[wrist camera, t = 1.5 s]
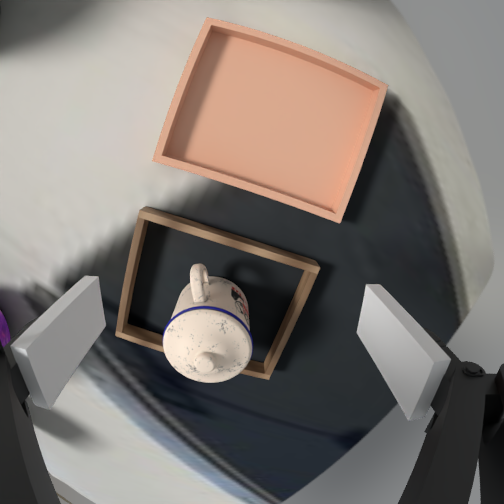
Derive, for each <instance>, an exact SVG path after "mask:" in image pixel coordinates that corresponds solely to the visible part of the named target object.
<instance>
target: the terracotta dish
mask: <svg viewBox="0 0 504 504" xmlns="http://www.w3.org/2000/svg"><path fill="white" fill-rule="evenodd" d="M387 88H388V85H387V84H385V83H383V82H381V81H379V80H377V79H375V78H373V77H371V76H369V75H367V74H365V73H363V72H361V71H359V70H357V69H355V68H353V67H351V66H349V65H347V64H345V63H342V62H340V61H338V60H336V59H333V58H331V57H329V56H326V55H324V54H322V53H319V52H317V51H314V50H312V49H309V48H307V47H304V46H302V45H299V44H296V43H293V42H291V41H288V40H285V39H282V38H279V37H276V36H273V35H270V34H267V33H264V32H261V31H257V30H254V29H251V28H247V27H244V26H240V25H236V24H233V23H229V22H225V21H221V20H216V19H212V18H208V17H207V18H206V20H205V22H204V24H203V26H202V29H201V31H200V33H199V35H198V38H197V40H196V42H195V44H194V47H193V49H192V51H191V54H190V56H189V58H188V61H187V63H186V66H185V68H184V71H183V73H182V76H181V78H180V81H179V84H178V86H177V89H176V91H175V94H174V97H173V100H172V102H171V105H170V108H169V111H168V114H167V116H166V119H165V122H164V125H163V128H162V131H161V134H160V137H159V140H158V144H157V147H156V150H155V153H154V157H153V160H152V161H154V162H157V163H161V164H164V165H168V166H171V167H174V168H178V169H181V170H185V171H188V172H191V173H194V174H198V175H201V176H204V177H207V178H210V179H214V180H217V181H220V182H223V183H226V184H229V185H232V186H235V187H238V188H241V189H244V190H247V191H250V192H253V193H256V194H259V195H262V196H265V197H268V198H271V199H274V200H277V201H280V202H283V203H285V204H288V205H291V206H294V207H297V208H299V209H302V210H305V211H308V212H310V213H313V214H316V215H319V216H321V217H324V218H327V219H329V220H332V221H335V222H337V223H340V222H341V220H342V217H343V214H344V212H345V209H346V207H347V204H348V202H349V199H350V196H351V194H352V191H353V188H354V186H355V183H356V180H357V178H358V175H359V172H360V169H361V166H362V164H363V161H364V158H365V155H366V152H367V150H368V147H369V144H370V141H371V138H372V135H373V132H374V129H375V126H376V123H377V120H378V117H379V114H380V111H381V107H382V104H383V101H384V98H385V95H386V91H387Z"/></svg>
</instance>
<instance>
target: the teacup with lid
mask: <svg viewBox="0 0 504 504" xmlns="http://www.w3.org/2000/svg"><path fill="white" fill-rule="evenodd" d="M162 340H163V348H164V352H165V355H166V357H167V359H168V361H169V362H170V364H171V365H172V366H173V367H174V368H175V369H176V370H177V371H178V372H180V373H181V374H182V375H184V376H186V377H188V378H190V379H193V380H196V381H200V382H209V383H212V382H221V381H225V380H228V379H230V378H232V377H234V376H236V375H237V374H239V373H240V372H241V371H242V370H243V369H244V368H245V367H246V366H247V364H248V362H249V361H250V359H251V356H252V353H253V339H252V336H251V333H250V327H249V312H248V303H247V300H246V297H245V295H244V293H243V292H242V291H241V289H240V288H239V287H238V286H237V285H235V284H234V283H232V282H231V281H229V280H227V279H224V278H221V277H214V276H208V273H207V270H206V267H205V266H204V265H203V264H195V265H193V266H192V268H191V271H190V283H189V284H188V285H187V286H186V287H185V288H184V289H183V291H182V292H181V294H180V296H179V299H178V302H177V304H176V307H175V310H174V312H173V315H172V318H171V320H170V321H169V322H168V324H167V325H166V327H165V330H164V333H163V339H162Z"/></svg>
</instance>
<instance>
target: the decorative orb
mask: <svg viewBox="0 0 504 504" xmlns="http://www.w3.org/2000/svg"><path fill="white" fill-rule="evenodd" d="M0 340H1V343H2V346H3V347H4V346H5V345H6V344H7V343H8V342H9V341H10V340H11V339H10V332H9V328H8V325H7V322H6V320H5V317H4V315H3V314H2V312H1V310H0Z"/></svg>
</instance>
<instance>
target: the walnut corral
mask: <svg viewBox="0 0 504 504" xmlns="http://www.w3.org/2000/svg"><path fill="white" fill-rule="evenodd" d="M149 221H152V222H155V223H158V224H161V225H164V226H167V227H171V228H174V229H177V230H180V231H183V232H186V233H189V234H193V235H196V236H199V237H202V238H205V239H208V240H212V241H215V242H218V243H221V244H224V245H227V246H231V247H234V248H237V249H240V250H243V251H246V252H249V253H253V254H256V255H259V256H262V257H265V258H268V259H272V260H275V261H278V262H281V263H284V264H287V265H291V266H294V267H297V268H300V269H303V270H304V273H303V275H302V277H301V280H300V282H299V285H298V287H297V289H296V292H295V294H294V296H293V299H292V301H291V303H290V306H289V308H288V310H287V312H286V315H285V317H284V319H283V321H282V324H281V326H280V328H279V330H278V333H277V335H276V337H275V339H274V341H273V344H272V346H271V348H270V350H269V352H268V355H267V357H266V359H265V361H264V363H261V362H257V361H252V360H250V361H249V362H248V364H247V366H246V367H245V368H244V369H243V370H242V371H241V372H240V373H241V374H245V375H250V376H254V377H259V378H263V379H268V380H269V378H270V376H271V374H272V372H273V370H274V367H275V365H276V363H277V361H278V359H279V357H280V355H281V353H282V351H283V349H284V347H285V345H286V343H287V341H288V339H289V336H290V334H291V332H292V330H293V328H294V326H295V324H296V321H297V319H298V317H299V315H300V313H301V311H302V308H303V306H304V304H305V302H306V299H307V297H308V295H309V293H310V290H311V288H312V286H313V284H314V281H315V279H316V277H317V274H318V272H319V270H320V266H319V265H318V264H317V262H316V261H315V260H312V259H309V258H306V257H303V256H300V255H297V254H294V253H291V252H288V251H285V250H282V249H279V248H275V247H272V246H269V245H266V244H263V243H260V242H257V241H254V240H251V239H248V238H244V237H241V236H238V235H235V234H232V233H229V232H226V231H223V230H219V229H216V228H213V227H210V226H207V225H204V224H201V223H197V222H194V221H191V220H188V219H185V218H182V217H178V216H175V215H172V214H169V213H166V212H163V211H159V210H156V209H153V208H150V207H147V206H145V207H144V208H142V209H141V210H140V211H139V215H138V219H137V223H136V227H135V231H134V236H133V240H132V245H131V249H130V254H129V259H128V264H127V269H126V274H125V279H124V284H123V290H122V296H121V302H120V308H119V314H118V321H117V328H116V335H115V336H118V337H120V338H123V339H126V340H129V341H132V342H134V343H137V344H140V345H143V346H146V347H149V348H152V349H155V350H159V351H162V352H164V348H163V340H162V339H163V335H160V334H157V333H154V332H151V331H148V330H145V329H142V328H139V327H136V326H133V325H130V324H127V322H128V316H129V311H130V305H131V300H132V294H133V289H134V284H135V279H136V275H137V270H138V265H139V261H140V256H141V252H142V247H143V243H144V239H145V235H146V231H147V227H148V223H149Z"/></svg>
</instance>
